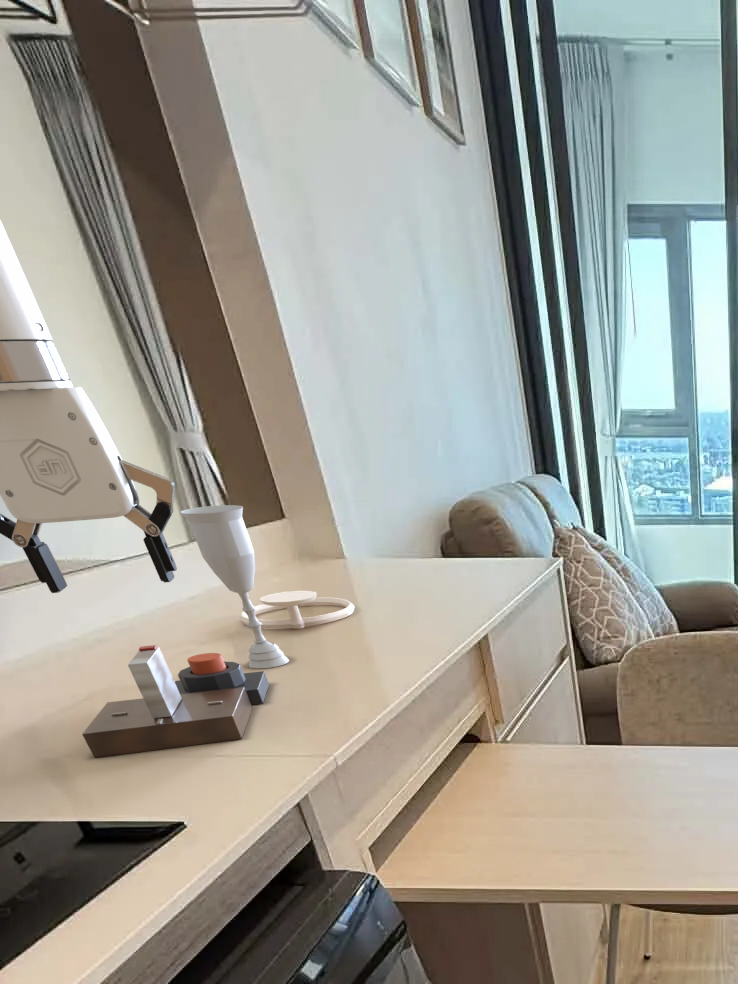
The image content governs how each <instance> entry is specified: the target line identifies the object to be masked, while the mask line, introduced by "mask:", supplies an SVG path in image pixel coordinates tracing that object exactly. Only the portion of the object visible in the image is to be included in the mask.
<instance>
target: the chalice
mask: <svg viewBox="0 0 738 984" xmlns="http://www.w3.org/2000/svg"><path fill="white" fill-rule="evenodd" d="M243 511H244V506H243V505H237V504H227V505H226V504H223V505H209V506H208V505H207V506H200V507H198V506H197V507H192V508H188V509H183V510H181V511H180V514H181V515H182V516H183V517H184V518H185V519H186V521H187V522H188V523H189V525H190V528H191V530H192V533H193V536H194V538H195V541H196V543H197V547H198V549H199V551H200V554H201V556H202V558H203V560H204V561H205V562H206V564H207V565H208V567H209V568H210V569H211V571H212V572H213V574H215V576H216V577H218V579H219V581H221V583H223V585H224V586H225V587H226V588H227V589H228V590H229V591H230V592H233V593H236V594H238V596H239V597H240V599H241V602H242V612H243V611H244V612H245V613H246V614H247V616H248V617H249V624H248V625H247V627H249V628H250V629H251V631H252V632H253V634H254V638H255V640H254V644H252V645H250V647H249V650H248V653H249V654H248V659H249V661H248V668H251V669H271V668H275V667H280V666H283V665H285V664H288V663H289V662H290V659H289V658H288V657H287V656H286V655H285V654H284V652H283V651H282V650H281V649H280V647H279V645H277V644H276V643H274V642H269V641H268V639H267V638H265V637H264V635H263V632H262V628H261V625H262V623H260V622H259V621H258V620H259V619H258V618H257V616H256V615H255V609H256V608H255V607H254V606H255V605H253V603H252V601H251V600H250V596H249V592H250V591H252V590H253V589H254V584H255V573H256V564H255V563H256V561H255V559H256V558H255V549H254V547H253V544H252V541H251V538H250V535H249V533H248V529H247V527H246V524H245V520H244V519H243V513H244V512H243ZM257 619H258V620H257Z"/></svg>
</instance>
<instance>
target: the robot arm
mask: <svg viewBox="0 0 738 984" xmlns="http://www.w3.org/2000/svg"><path fill="white" fill-rule="evenodd" d="M118 450H119V449H118V448H117V446H116V445H115V443H114V440H113V439H112V437H111V434H110V433H109V431H108V429H107V428H106V426H105V424H104V422H103V421H102V418H101V417H100V415H99V413H98V411H97V409H96V408H95V406H94V405H93V403H92V401H91V399H89V397H88V395H87V394H86V392H85V391H84V389H83V387H81V386H77V387H76V386H74V385H73V383H72V381H71V379H70V375H69V373H68V371H67V369H66V366H65V364H64V361H63V360H62V358H61V356H60V353H59V350H58V348H57V346H56V343H55V342H54V340H53V337H52V335H51V333H50V330H49V327H48V326H47V323H46V321H45V319H44V316H43V314H42V312H41V310H40V307H39V305H38V303H37V300H36V298H35V295H34V292H33V291H32V288H31V286H30V284H29V282H28V279H27V278H26V274H25V273H24V270H23V268H22V266H21V264H20V261H19V259H18V257H17V254H16V252H15V250H14V247H13V245H12V243H11V240H10V238H9V236H8V234H7V231H6V229H5V227H4V224H3V222H2V220H1V219H0V497H1V499H2V501H3V503H4V505H5V507H6V508H7V511H8V512H9V513H10V515H11V516H12V517H13V518H15V519H16V522H15V521H13V520H11V519H10V518H8V517H7V516H5V515H4V514H2V513H0V534H1V535H2V536H4V537H5V538H7V539H9V540H10V541H12V542H13V543H14V544H15V545H16V546H17V547H19V548H22V550H23V552H24V554H25V555H26V557H27V558H26V559H28V562H29V563H30V565H31V568H32V570H33V571H34V574H35V575H36V577H37V579H38V580H39V582H40V583H42V584H44V583H45V584H46V586H47V588H48V589H49V591H50V592H51V594H58V593H61V592H62V591H63V590H64V589H66V587H68V584H67V582H66V579H65V577H64V576H63V573H62V571H61V569H60V567H59V566H58V563H57V561H56V559H55V557H54V555H53V553H52V551H51V549H50V547H49V545H48V544H47V543H45V541H41V539H40V537H39V534H40V532H41V528H42V526H43V524H50V523H51V524H52V523H65V522H79V521H91V520H103V519H113V518H119V517H124V518H126V519H127V520H128V521H130V522H131V523H132V524H134V525H135V526H137V527H138V528H139V529H141V530H142V531H143V534H144V536H145V537H144V538H143V542H144V545H145V547H146V550H147V552H148V555H149V557H150V559H151V561H152V564H153V566H154V568H155V571H156V573H157V575H158V578H159V580H160V581H161V582H163V583H171V582H172V581H173V580H174V579H175V573H174V572H175V571H177V569H178V568H177V565H176V561H175V559H174V557H173V555H172V552H171V549H170V547H169V545H168V543H167V540H166V537H165V536H164V531H165V528H166V527H167V525H168V522H169V521H170V519H171V517H172V515H173V513H174V503H175V494H176V493H175V491H176V484H175V482H174V480H172V479H171V478H168V477H167V476H163V475H161V474H160V473H159V474H158V473H156V472H154V471H151V470H149V469H146V468H143V467H141V466H139V465H136V464H133V463H131V462H128V461H126V460H123V458H122V456H121V454H120V453H119V451H118ZM134 482H136V483H137V484H141V485H144V486H146V487H149V488H151V489H153V490H154V492H155V493H156V504H155V506H154V508H153V510H152V512H149V510H147V509H146V508H144V507H143V506H142V505H141V504H140V497H139V494H138V491H137V489H136V486H135V484H134Z"/></svg>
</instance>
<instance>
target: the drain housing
mask: <svg viewBox="0 0 738 984" xmlns="http://www.w3.org/2000/svg"><path fill="white" fill-rule="evenodd" d="M224 663H225V665H226V668H227V669H226V670H224V671H220V672H216V673H212V674H202V675H196V674H193V672H192V670H191V668H190V666H188V667H185V668H182V669H181V670H180V671H179V672H178V674H177V676H178V678H179V680H174V682H175V684H176V686H177V689H178V691H179V693H180V694H186V693H195V692H204V691H213V690H222V689H230V688H239V687H244V688H245V690H246V693H247V695H248V698H249V700H250V703H251V706H253V705H254V706H255V705H263V704H264V702H265V699H266V696H267V693H268V689H269V687H270V683H269V680H268V677H267V675H266V672H265V670H262V671H254V672H253V671H252V672H244V671H243V668H242V666H241V663H237V662H235V661H224Z"/></svg>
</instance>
